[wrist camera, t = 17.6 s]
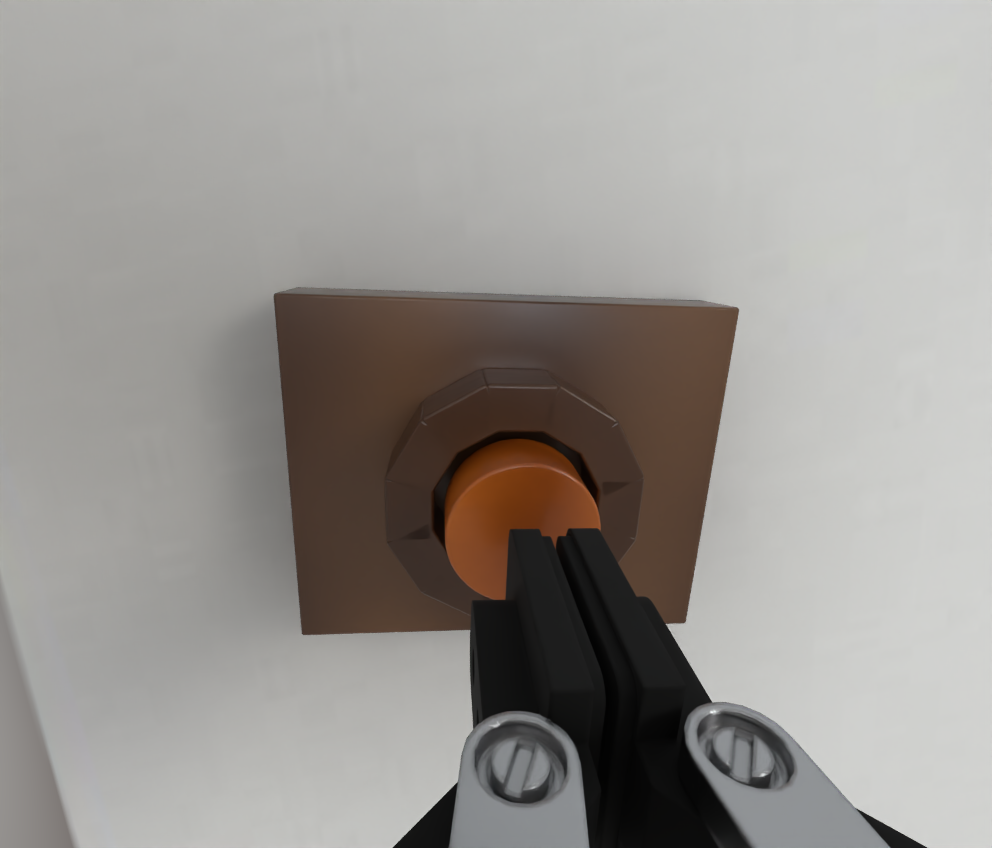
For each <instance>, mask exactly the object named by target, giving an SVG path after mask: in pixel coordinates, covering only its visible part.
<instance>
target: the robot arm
mask: <svg viewBox="0 0 992 848" xmlns="http://www.w3.org/2000/svg"><path fill="white" fill-rule="evenodd" d="M470 677H471V696H472V713H473V731H472V732H471V733H470V735H469V736H468V737H467V739H466V742H465V745H464V748H463V751H462V755H461V763H460V770H459V778H458V782H457V783H456V784H455V785H454V786H453V787H452V788H451V789H450V790H449V791H448V792H447V793H446V794H445V795H444V796H443V797H442V799H441V800H440V801H439V802H438V803H437V804H436V805H435V806H434V807H433V808H432V809H431V810H430V811H429V812H428V813H427V814H426V815H425V816H424V817H423V818H422V819H421V820H420V821H419V822H418V823H417V824H416V825H415V826H414V827H413V828H412V829H411V830H410V831H409V832H408V833H407V834H406V835H405V836H404V837H403V838H402V839H401V840H400V841H399V842H398V843H397V844H396V845H395V846H394V847H393V848H927V847H925V846H923V845H921V844H920V843H918V842H916V841H914V840H912V839H911V838H909V837H907V836H905V835H903V834H902V833H900V832H898V831H896V830H894V829H893V828H891V827H889V826H887V825H885V824H884V823H882V822H880V821H878V820H876V819H874V818H873V817H871V816H869V815H867V814H865V813H864V812H862V811H860V810H858V809H856V808H855V807H854V806H853V805H852V804H851V803H850V802H849V801H848V800H847V798H846V797H845V796H844V795H843V794H842V793H841V792H840V791H839V790H838V788H837V787H836V786H835V785H834V784H833V783H832V782H831V781H830V779H829V778H828V777H827V776H826V775H825V774H824V773H823V772H822V770H821V769H820V768H819V767H818V766H817V765H816V764H815V763H814V761H813V760H812V759H811V758H810V757H809V756H808V755H807V754H806V752H805V751H804V750H803V749H802V748H801V747H800V746H799V745H798V743H797V742H796V741H795V740H794V739H793V738H792V737H791V736H790V735H789V734H788V733H787V732H786V731H785V730H784V729H783V728H781V727H780V726H779V725H778V724H777V723H775V722H774V721H772V720H771V719H769V718H768V717H766V716H764V715H763V714H761V713H759V712H757V711H754V710H752V709H750V708H747V707H745V706H742V705H737V704H732V703H727V702H714V703H712V701H711V700H710V698H709V696H708V695H707V693H706V691H705V690H704V688H703V686H702V685H701V683H700V681H699V679H698V678H697V676H696V674H695V673H694V671H693V669H692V668H691V666H690V664H689V663H688V661H687V659H686V658H685V656H684V654H683V653H682V651H681V649H680V648H679V646H678V644H677V642H676V641H675V639H674V637H673V636H672V634H671V632H670V631H669V629H668V627H667V626H666V624H665V622H664V621H663V619H662V617H661V616H660V614H659V612H658V611H657V609H656V607H655V605H654V604H653V602H652V601H651V600H650V599H649V598H648V597H645V596H639V597H637V596H636V595H635V593H634V591H633V589H632V587H631V586H630V584H629V582H628V580H627V578H626V577H625V575H624V573H623V571H622V569H621V568H620V566H619V564H618V562H617V561H616V559H615V557H614V555H613V553H612V552H611V550H610V548H609V546H608V544H607V543H606V541H605V539H604V537H603V535H602V534H601V532H600V530H599V529H598V528H569V529H568V530H567V533H566V536H558V537H557V541H556V549H555V546H554V544H553V541H552V538H551V537H550V536H542V535H541V532H540V530H539V529H510V531H509V538H508V557H507V577H506V596H505V600H472V604H471V626H470Z"/></svg>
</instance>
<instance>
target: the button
mask: <svg viewBox="0 0 992 848" xmlns="http://www.w3.org/2000/svg"><path fill="white" fill-rule="evenodd" d="M444 515H445V547H446V551H447V555H448V558H449V561H450V563H451V565H452V567H453V569H454V570H455V572H456V573H457V575H458V576H459V577H460V578H461V579H462V580H463V581H464V582H465V583H466V584H467V585H468V586H469V587H470V588H472V589H473V590H474V591H476V592H478V593H479V594H481V595H483V596H485V597H488V598H490V599H493V600H505V596H506V577H507V557H508V538H509V531H510V529H539V530H540V532H541V535H542V536H550V537H551V538H552V541H553V544H554V546H555V549H556V541H557V537H558V536H566V533H567V530H568V529H569V528H598V529H599V530H601V524H600V516H599V512H598V508H597V506H596V503H595V501H594V499H593V497H592V495H591V494H590V492H589V491H588V489H587V487H586V486H585V484H584V482H583V481H582V479H581V478H580V476H579V474H578V473H577V471H576V469H575V468H574V466H573V465H572V463H571V462H570V461H569V460H568V459H567V458H566V457H565V456H564V455H563V454H562V453H560V452H559V451H557V450H556V449H555V448H553V447H551V446H549V445H547V444H544V443H541V442H538V441H534V440H529V439H507V440H502V441H498V442H494V443H491V444H489V445H487V446H484V447H482V448H480V449H479V450H477V451H476V452H474V453H473V454H471V455H470V456H469V457H468V458H466V459H465V460H464V461H463V463H462V464H461V465H460V466H459V467H458V468H457V470H456V471H455V473H454V474H453V476H452V478H451V480H450V482H449V485H448V487H447V491H446V495H445V504H444Z"/></svg>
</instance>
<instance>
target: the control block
mask: <svg viewBox="0 0 992 848" xmlns="http://www.w3.org/2000/svg"><path fill="white" fill-rule="evenodd" d="M274 305H275V317H276V329H277V341H278V353H279V365H280V377H281V389H282V401H283V413H284V425H285V437H286V449H287V461H288V473H289V485H290V497H291V509H292V521H293V533H294V545H295V557H296V569H297V581H298V593H299V605H300V617H301V629H302V634H303V635H321V634H353V633H385V632H417V631H449V630H470V626H471V604H472V600H493V599H490V598H488V597H485V596H483V595H481V594H479V593H478V592H476V591H474V590H473V589H472V588H470V587H469V586H468V585H467V584H466V583H465V582H464V581H463V580H462V579H461V578H460V577H459V576H458V575H457V573H456V572H455V570H454V569H453V567H452V565H451V563H450V561H449V558H448V555H447V551H446V547H445V515H444V504H445V495H446V491H447V487H448V485H449V482H450V480H451V478H452V476H453V474H454V473H455V471H456V470H457V468H458V467H459V466H460V465H461V464H462V463H463V461H464V460H465V459H466V458H468V457H469V456H470V455H471V454H473V453H474V452H476V451H477V450H479V449H480V448H482V447H484V446H487V445H489V444H491V443H494V442H498V441H502V440H507V439H529V440H534V441H538V442H541V443H544V444H547V445H549V446H551V447H553V448H555V449H556V450H557V451H559V452H560V453H562V454H563V455H564V456H565V457H566V458H567V459H568V460H569V461H570V462H571V463H572V465H573V466H574V468H575V469H576V471H577V473H578V474H579V476H580V478H581V479H582V481H583V482H584V484H585V486H586V487H587V489H588V491H589V492H590V494H591V495H592V497H593V499H594V501H595V503H596V506H597V508H598V512H599V516H600V524H601V530H600V532H601V534H602V535H603V537H604V539H605V541H606V543H607V544H608V546H609V548H610V550H611V552H612V553H613V555H614V557H615V559H616V561H617V562H618V564H619V566H620V568H621V569H622V571H623V573H624V575H625V577H626V578H627V580H628V582H629V584H630V586H631V587H632V589H633V591H634V593H635V595H636V596H637V597H639V596H645V597H648V598H649V599H650V600H651V601H652V602H653V604H654V605H655V607H656V609H657V611H658V612H659V614H660V616H661V617H662V619H663V621H664V622H665V624H673V623H685V622H686V616H687V611H688V605H689V599H690V593H691V587H692V581H693V576H694V570H695V564H696V558H697V552H698V546H699V541H700V535H701V529H702V523H703V517H704V511H705V506H706V500H707V494H708V488H709V482H710V476H711V471H712V465H713V459H714V453H715V447H716V441H717V436H718V430H719V424H720V418H721V412H722V406H723V401H724V395H725V389H726V383H727V377H728V371H729V366H730V360H731V354H732V348H733V342H734V336H735V331H736V325H737V319H738V313H739V309H738V308H737V307H732V306H726V305H721V304H716V303H711V302H706V301H697V300H666V299H636V298H605V297H574V296H544V295H513V294H483V293H452V292H421V291H391V290H360V289H330V288H299V287H298V288H294V289H290V290H286V291H282V292H278V293H275V294H274Z"/></svg>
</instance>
